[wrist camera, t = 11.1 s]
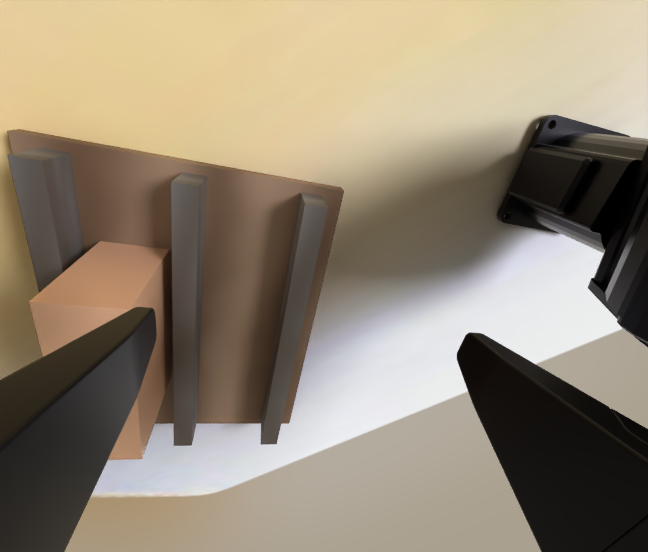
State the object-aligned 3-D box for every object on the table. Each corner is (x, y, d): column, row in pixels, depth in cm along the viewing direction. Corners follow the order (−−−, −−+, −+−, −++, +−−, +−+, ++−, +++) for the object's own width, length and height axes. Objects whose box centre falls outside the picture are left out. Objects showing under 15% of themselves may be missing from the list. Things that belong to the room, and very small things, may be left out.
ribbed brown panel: (341, 187, 19) (352, 201, 16) (288, 415, 28) (290, 447, 25) (19, 129, 15) (-33, 135, 12) (78, 414, 24) (55, 452, 21)
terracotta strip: (169, 249, 18) (130, 309, 13) (170, 376, 23) (142, 459, 17) (99, 241, 17) (28, 301, 12) (115, 374, 22) (68, 460, 17)
